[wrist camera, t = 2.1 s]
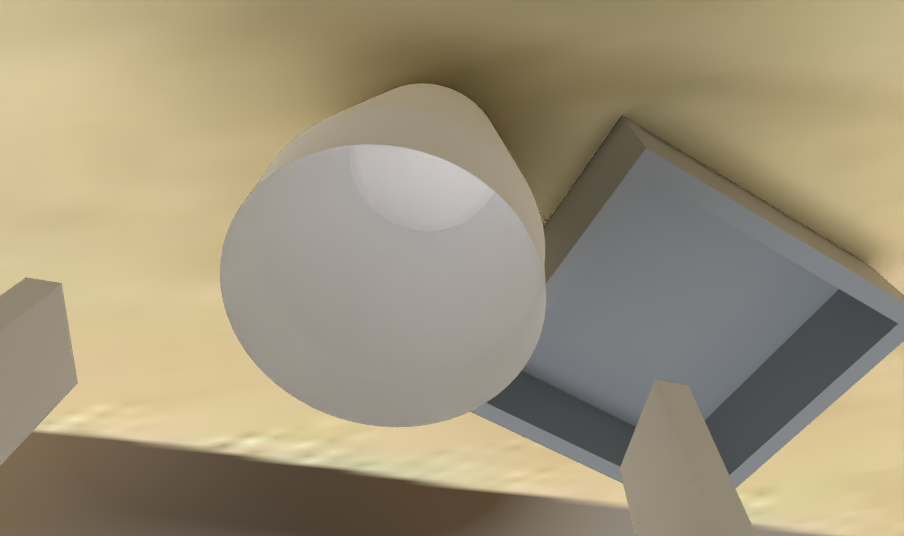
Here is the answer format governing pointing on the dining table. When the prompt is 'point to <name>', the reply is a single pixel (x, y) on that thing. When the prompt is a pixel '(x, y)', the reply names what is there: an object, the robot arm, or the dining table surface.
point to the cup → (390, 262)
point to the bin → (689, 312)
